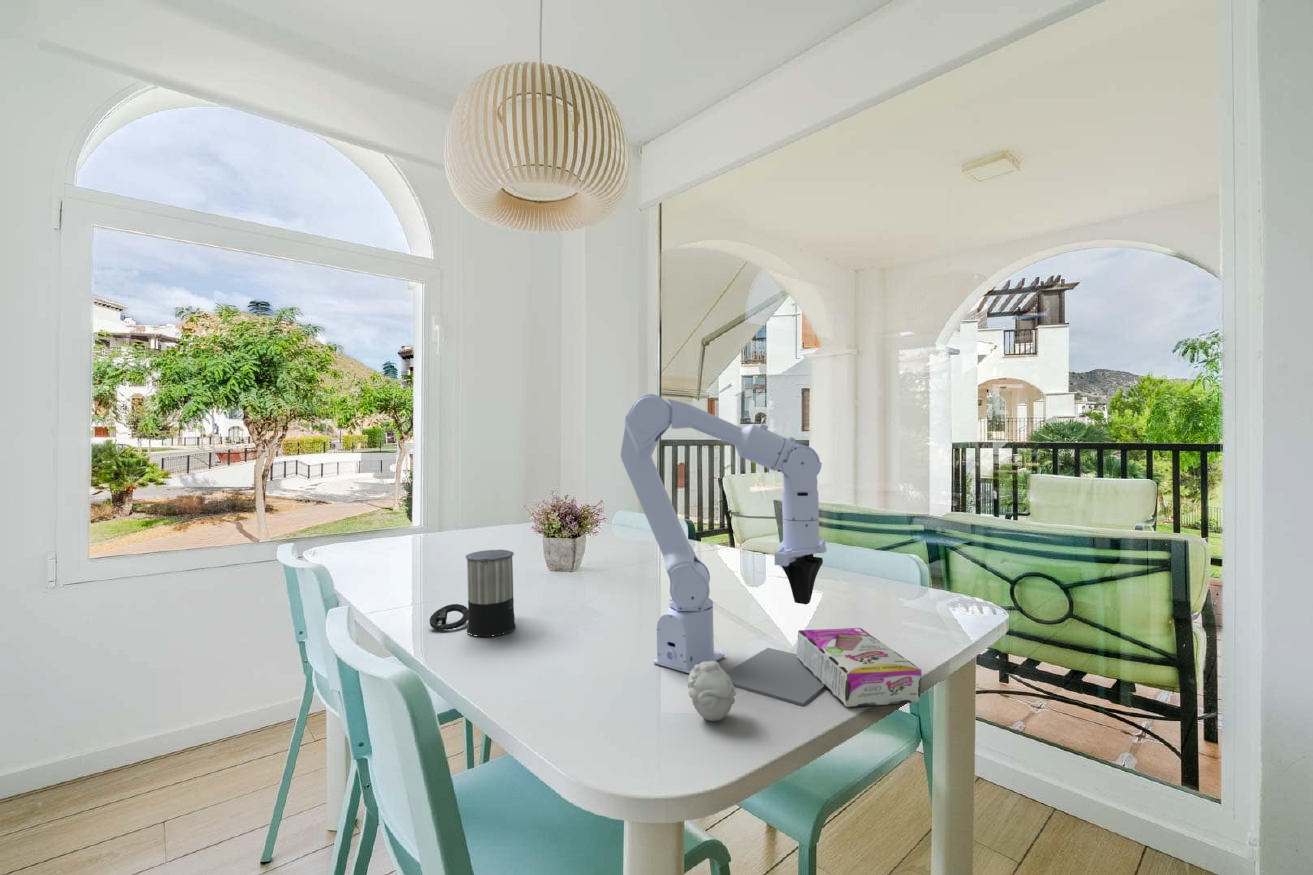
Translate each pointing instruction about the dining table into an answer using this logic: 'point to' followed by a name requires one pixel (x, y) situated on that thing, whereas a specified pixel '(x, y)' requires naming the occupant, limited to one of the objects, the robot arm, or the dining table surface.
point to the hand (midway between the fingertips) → (802, 602)
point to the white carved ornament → (711, 690)
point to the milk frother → (484, 596)
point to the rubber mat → (777, 677)
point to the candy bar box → (858, 667)
